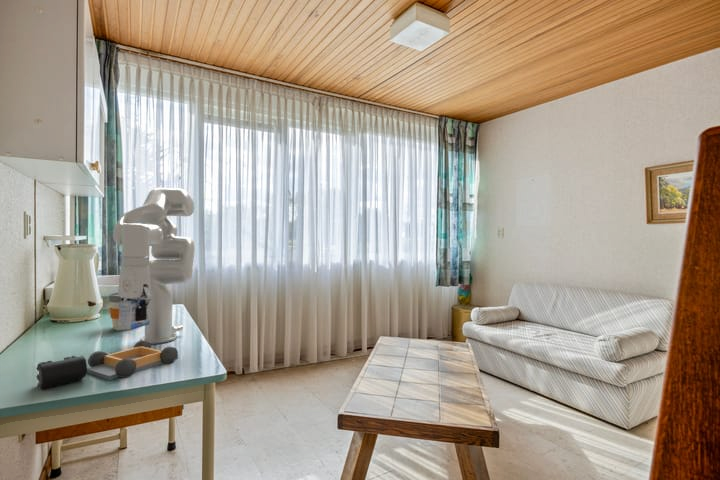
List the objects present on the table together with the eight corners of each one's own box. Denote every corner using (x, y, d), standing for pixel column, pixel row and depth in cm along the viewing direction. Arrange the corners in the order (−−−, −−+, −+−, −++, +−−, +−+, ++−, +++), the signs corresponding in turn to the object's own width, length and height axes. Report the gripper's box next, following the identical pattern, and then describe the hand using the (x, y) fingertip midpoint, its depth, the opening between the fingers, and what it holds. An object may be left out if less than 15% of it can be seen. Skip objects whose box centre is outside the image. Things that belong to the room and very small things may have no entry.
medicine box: (130, 330, 115) (130, 302, 115) (118, 329, 116) (118, 301, 116) (149, 324, 123) (150, 298, 123) (138, 323, 124) (138, 297, 124)
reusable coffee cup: (111, 332, 158) (111, 297, 158) (105, 327, 167) (106, 293, 167) (144, 328, 166) (145, 294, 166) (138, 322, 176) (138, 290, 176)
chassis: (151, 352, 134) (151, 337, 133) (181, 359, 126) (181, 344, 126) (82, 371, 114) (82, 354, 114) (113, 381, 107) (113, 364, 107)
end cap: (42, 393, 98) (42, 367, 98) (34, 386, 103) (34, 361, 103) (87, 381, 106) (87, 358, 106) (78, 375, 111) (78, 352, 111)
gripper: (107, 261, 120) (106, 318, 120) (141, 264, 112) (140, 324, 113) (131, 260, 127) (130, 314, 127) (164, 263, 119) (163, 320, 119)
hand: (135, 318), depth 120 cm, fingers closed on medicine box, 5 cm apart
